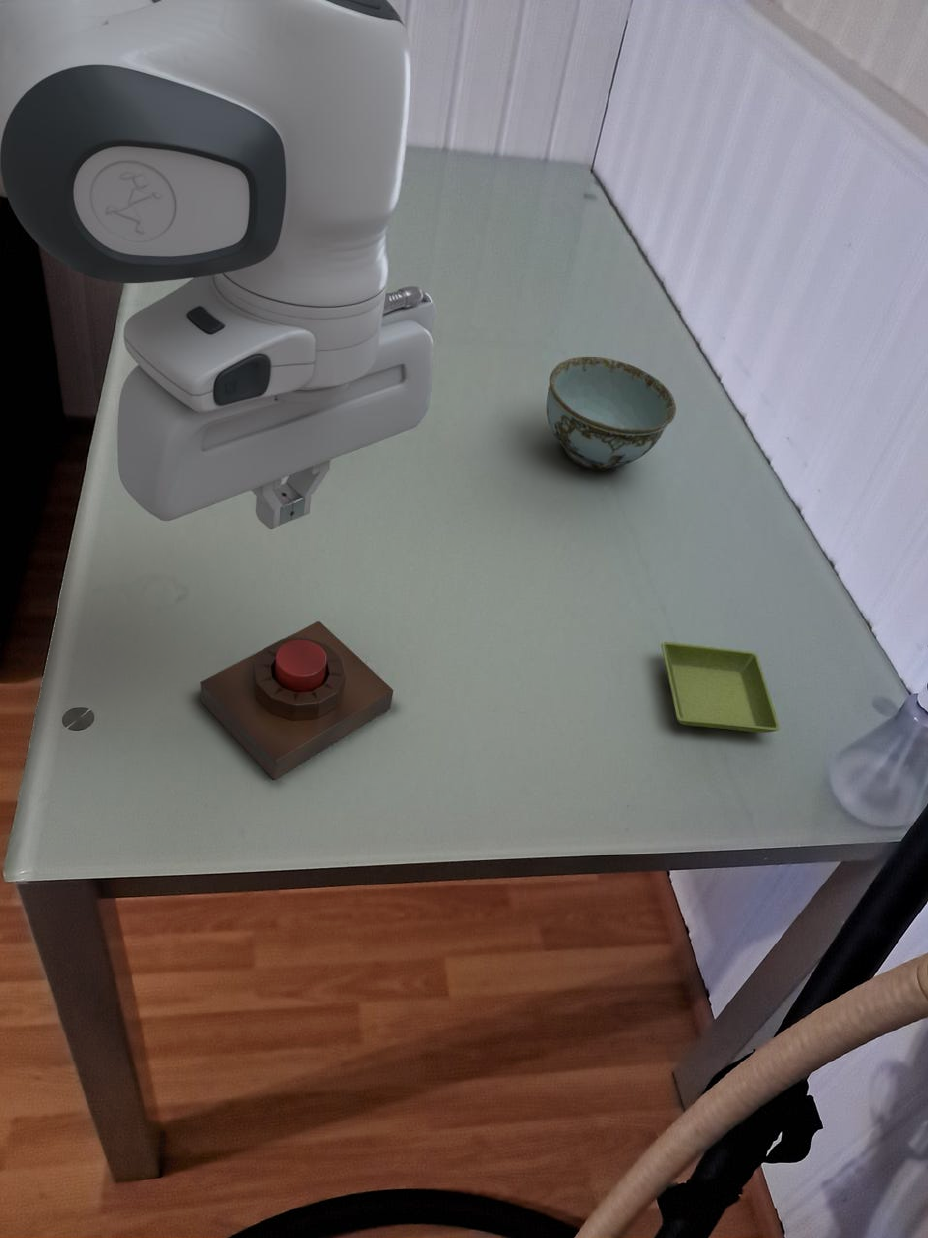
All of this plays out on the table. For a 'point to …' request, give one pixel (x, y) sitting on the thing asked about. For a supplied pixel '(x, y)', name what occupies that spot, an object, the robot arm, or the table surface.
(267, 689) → the button block
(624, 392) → the bowl
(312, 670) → the button
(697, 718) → the green square tray
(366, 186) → the robot arm
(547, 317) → the table surface
